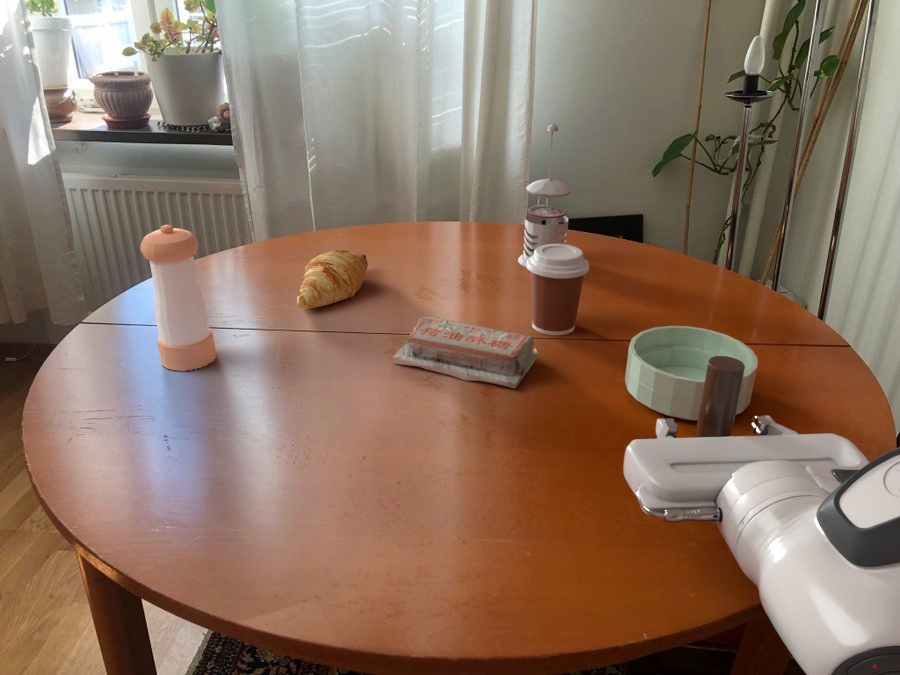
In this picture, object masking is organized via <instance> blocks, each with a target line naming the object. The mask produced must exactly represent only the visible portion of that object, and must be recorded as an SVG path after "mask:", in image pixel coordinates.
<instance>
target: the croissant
mask: <svg viewBox="0 0 900 675" xmlns="http://www.w3.org/2000/svg"><path fill="white" fill-rule="evenodd" d="M368 266H369V262H368V260H367V256H366V254H363V253H358V252H357V253H351V252H350V251H349V250H329V251H325V252H322V253H320V254H318V255H316V256H314V257H313V258H311V259H310V260H309V261H308V263H307V264H306V266H305V268H304V272H305V273H304V275H303V276H302V284H301V285H300V287H299V289H298V290H299V294H298V295H297V296H296V300H297V301H296V305H297V306H298V307H299V308H300V309H305V310H306V309H308V310H309V309H314V308H322V307H325V306H328V305H332V304H334V303H338V302H341V301H344V300H347V299H349V298H353V297H354V296H355V295H356V293H357V292H358V291H359V290H360V289H361V287H362V285H363V283H364V278H365V277H366V272H367V270H368Z"/></svg>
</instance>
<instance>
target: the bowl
mask: <svg viewBox="0 0 900 675" xmlns="http://www.w3.org/2000/svg"><path fill="white" fill-rule="evenodd" d="M715 356H728V357H732V358H735V359H738V360H740V361H741V362H742V363H743V364H744V365H745V370H744V375H743V380H742V384H741V389H740V394H739V399H738V404H737V409H736V414H735V416H737V415H739V414H741V413H743V412H744V411H745V410H746V409H747V408H748V407H749V406H750V404H751V400H752V396H753V395H752V394H753V390H754V385H755V382H756V381H755V380H756V375H757V370H758V364H759V363H758V362H759V358H758V356H757V355H756V354H755V352H754V350H753V349H752V348H750V347H749V346H748V345H746V344H745V343H744V342H742V341H741V340H738V339H737V338H734V337H732V336H730V335H728V334H725V333H722V332H718V331H716V330H711V329H708V328H701V327H697V326H689V325H688V326H687V325H667V326H666V325H665V326H664V325H663V326H656V327H651V328H648V329H645V330H642V331H640V332H638V333H637V334H636V335H634V336H633V337H631V340H630V342H629V345H628V351H627V360H626V368H625V377H624V383H625V386H626V389H627V392H628V393H629V394H630V396H632V397H633V398H634V399H635V400H636V401H637V402H639V403H641V404H642V405H644V406H646V407H647V408H649V409H650V410H652V411H654V412H657V413H658V414H661V415H665V416H667V417H671V418H673V419H674V418H675V419H679V420H684V421H694V422H698V416H699V411H700V405H701V399H702V394H703V388H704V383H705V377H706V371H707V366H708V361H709V359H710V358H712V357H715Z"/></svg>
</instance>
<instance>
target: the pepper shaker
mask: <svg viewBox="0 0 900 675" xmlns="http://www.w3.org/2000/svg"><path fill="white" fill-rule="evenodd" d="M198 248H199V241H198V239H197V237H195V235H194V234H193V233H192V232H191V231H189V230H186V229H182V228H178V227H173V226H172V225H170V224H164V225H162V226H160V228H159V229H156V230H153V231H152V232H150V233H148V234H146V235H145V236H143V239H142V241H141V243H140V249H139V250H140V252H141V254H142V255H143V257H144V258H145V259H146V260H147V261H149V265H150V266H149V267H150V272H151V277H152V283H153V289H154V319H155V324H156V329H157V332H158V337H157V341H156V344H157V350H158V354H159V358H160V364H161V363H162V364H161V365H163V366H164V367H166V368H168V369H172V370H178V371H177V372H187V371H186V370H190V371H193V370H192V369H195V370H198V369H197V368H199V369H202V368H204V367H207V366H209V365H210V364H212V363H214V361H215V360H216V358H217V350H216V343H215V338H214V333H213V331H212V330H211V329H210V323H209V316H208V314H209V313H208V308H207V306H206V305H207V304H206V302H205V299H204V297H203V294H202V290H201V288H200V284H199V279H198V274H197V273H198V272H197V268H196V261H195V255H196V254H197V253H198ZM214 359H215V360H214ZM211 362H212V363H211ZM209 363H210V364H209ZM208 364H209V365H208ZM206 365H207V366H206ZM163 366H162V367H163ZM203 366H204V367H203ZM164 367H163V368H164ZM201 367H202V368H201ZM166 368H165V369H166ZM168 369H167V370H168ZM172 370H171V371H172Z"/></svg>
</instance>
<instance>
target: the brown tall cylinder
mask: <svg viewBox="0 0 900 675" xmlns="http://www.w3.org/2000/svg"><path fill="white" fill-rule="evenodd" d="M744 370H745V365H744V364H743V363H742V362H741V361H740V360H738V359H735V358H732V357H728V356H715V357H712V358H710V359H709V361H708V366H707V371H706V377H705V383H704V388H703V394H702V399H701V405H700V411H699V416H698V421H696V429H695V434H694V438H697V437H730V436H732V433H733V428H734V425H735V424H734V423H735V420H736V415H735V414H736V409H737V404H738V399H739V394H740V389H741V384H742V380H743V375H744Z"/></svg>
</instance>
